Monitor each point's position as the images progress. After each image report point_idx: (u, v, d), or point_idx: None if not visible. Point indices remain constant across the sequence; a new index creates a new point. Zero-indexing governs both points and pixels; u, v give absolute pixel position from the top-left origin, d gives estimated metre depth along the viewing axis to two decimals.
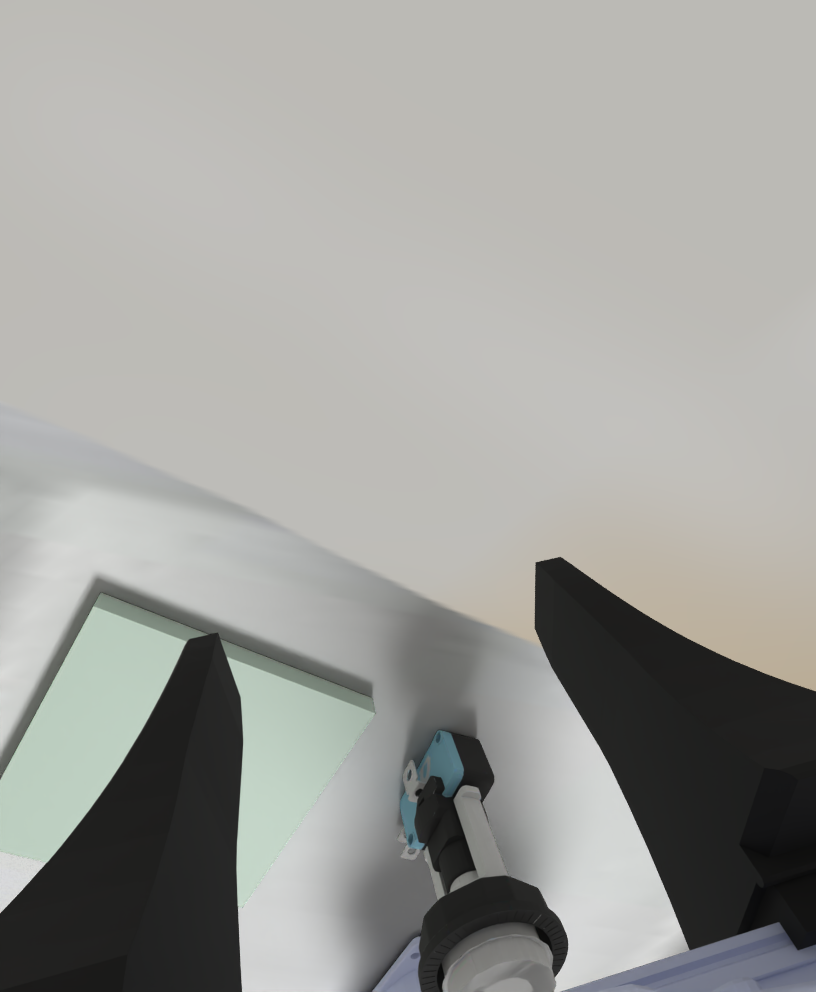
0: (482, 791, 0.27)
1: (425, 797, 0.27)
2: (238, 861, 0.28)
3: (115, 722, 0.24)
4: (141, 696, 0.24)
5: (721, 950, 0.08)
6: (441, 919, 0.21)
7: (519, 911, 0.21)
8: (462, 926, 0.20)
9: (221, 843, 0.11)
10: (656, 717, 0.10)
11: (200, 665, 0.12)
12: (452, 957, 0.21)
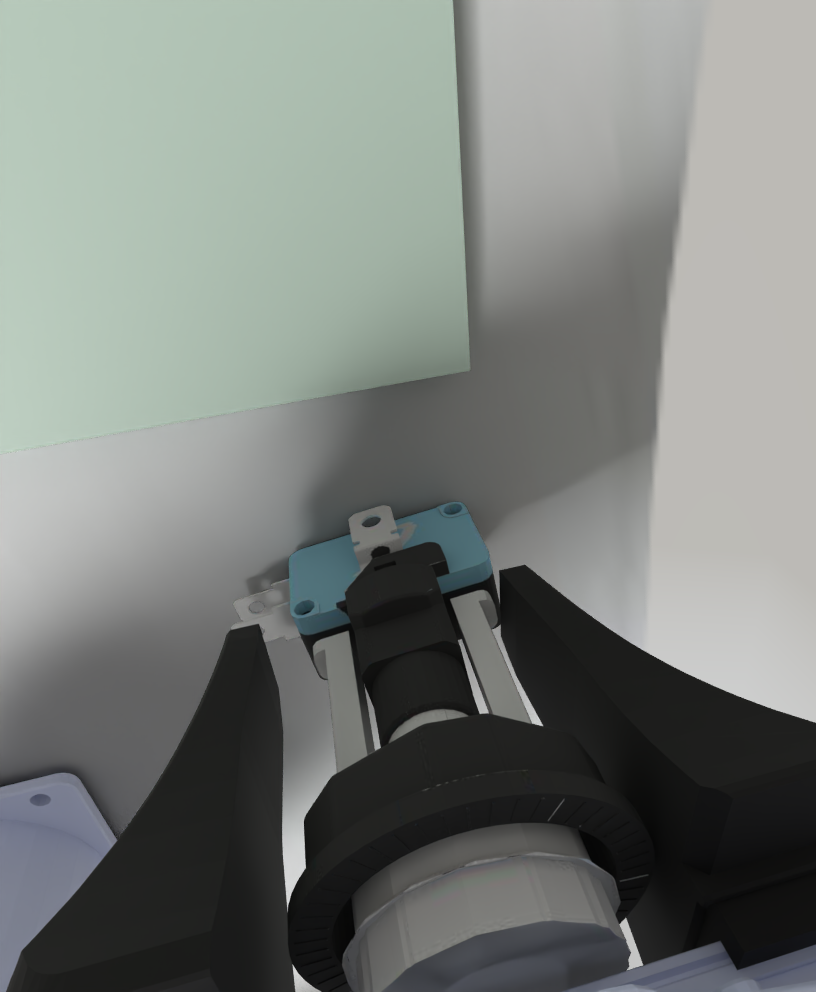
0: None
1: (401, 563, 0.14)
2: None
3: None
4: None
5: (721, 950, 0.08)
6: (489, 753, 0.08)
7: (647, 842, 0.09)
8: (569, 796, 0.08)
9: (270, 830, 0.11)
10: (607, 730, 0.10)
11: (246, 655, 0.12)
12: (462, 845, 0.08)
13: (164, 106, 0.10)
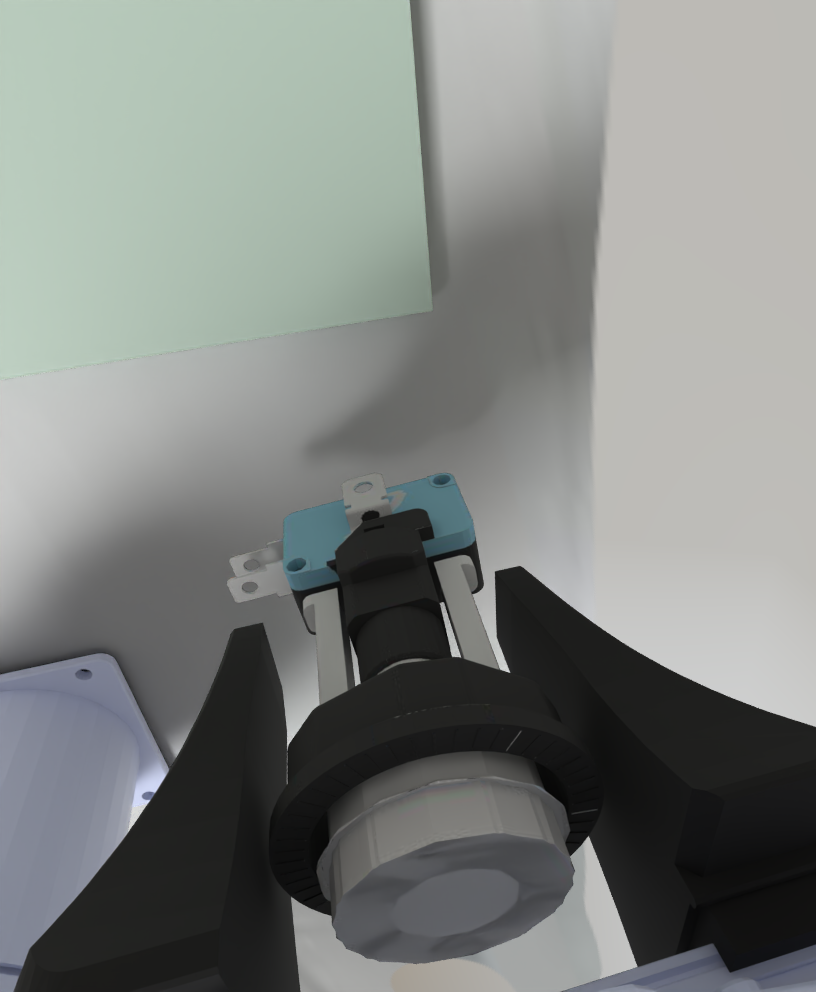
0: None
1: (389, 526, 0.15)
2: (48, 308, 0.15)
3: None
4: None
5: (721, 950, 0.08)
6: (456, 690, 0.09)
7: (596, 778, 0.10)
8: (526, 728, 0.09)
9: None
10: (601, 732, 0.10)
11: (249, 655, 0.12)
12: (428, 769, 0.09)
13: (197, 100, 0.14)
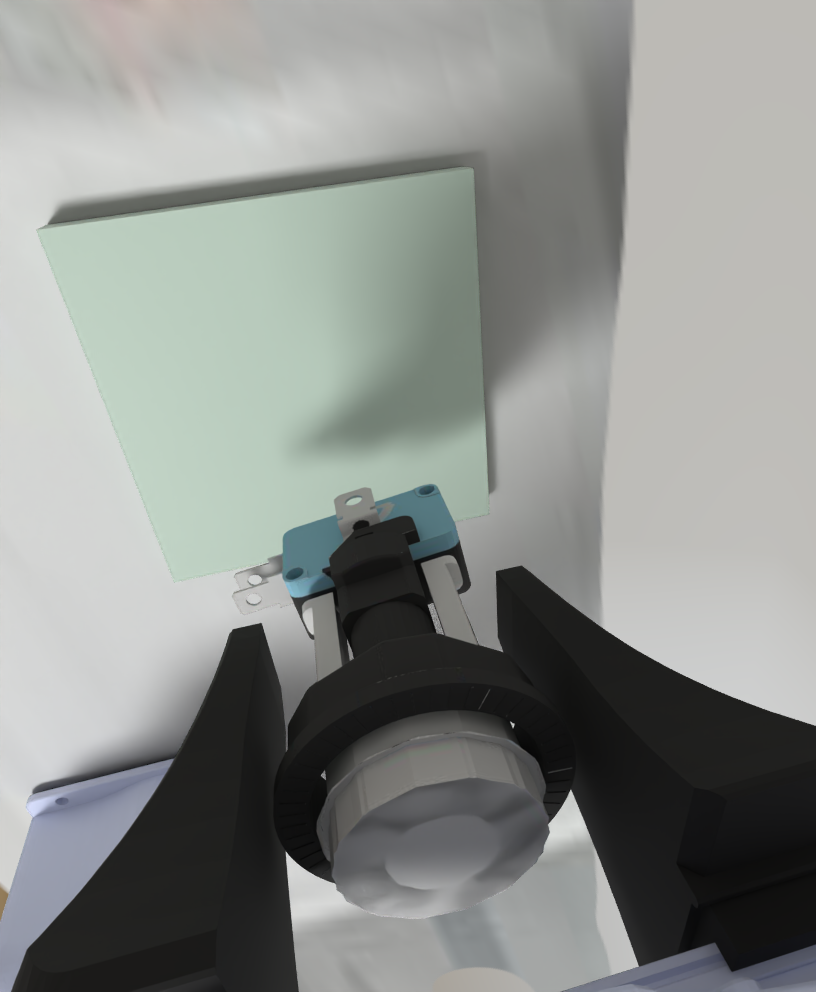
0: None
1: (378, 533, 0.16)
2: (234, 533, 0.22)
3: (337, 289, 0.19)
4: (387, 293, 0.19)
5: (721, 950, 0.08)
6: (433, 659, 0.10)
7: (566, 735, 0.11)
8: (494, 686, 0.10)
9: (273, 829, 0.11)
10: (602, 731, 0.10)
11: (248, 655, 0.12)
12: (410, 730, 0.10)
13: (343, 411, 0.21)
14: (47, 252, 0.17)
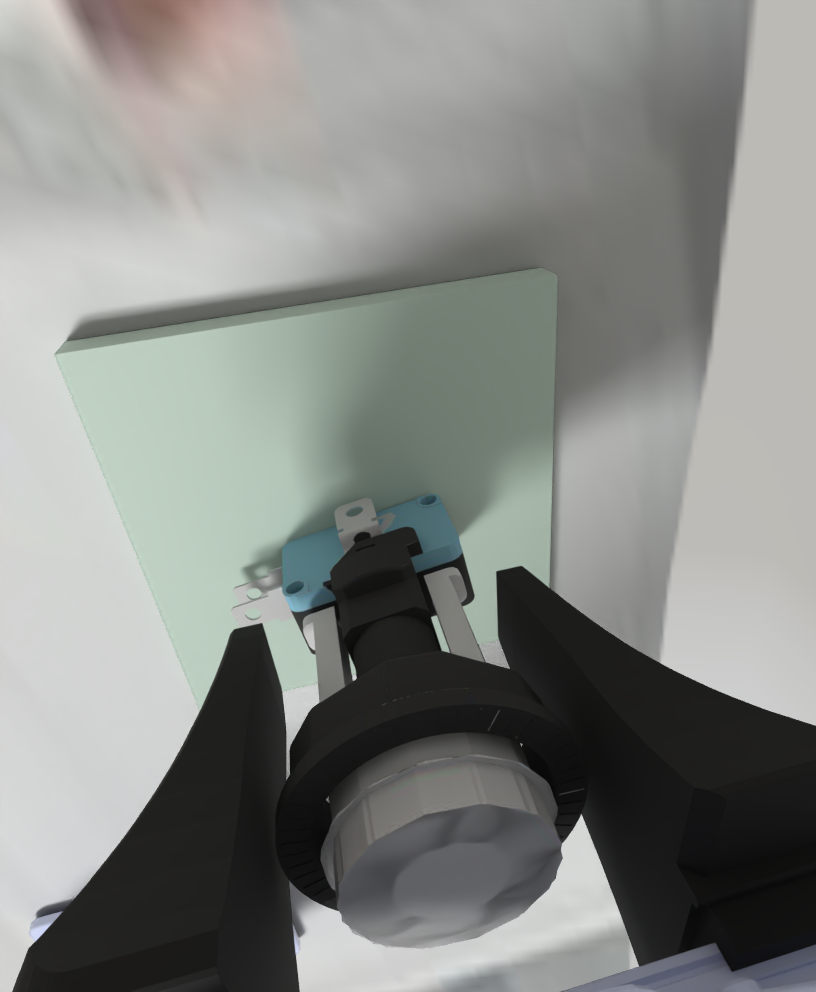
0: None
1: (380, 545, 0.16)
2: None
3: (397, 406, 0.16)
4: (452, 409, 0.17)
5: (721, 950, 0.08)
6: (439, 679, 0.10)
7: (577, 756, 0.10)
8: (504, 707, 0.09)
9: (274, 829, 0.11)
10: (602, 731, 0.10)
11: (249, 654, 0.12)
12: (417, 752, 0.10)
13: None
14: (66, 378, 0.14)
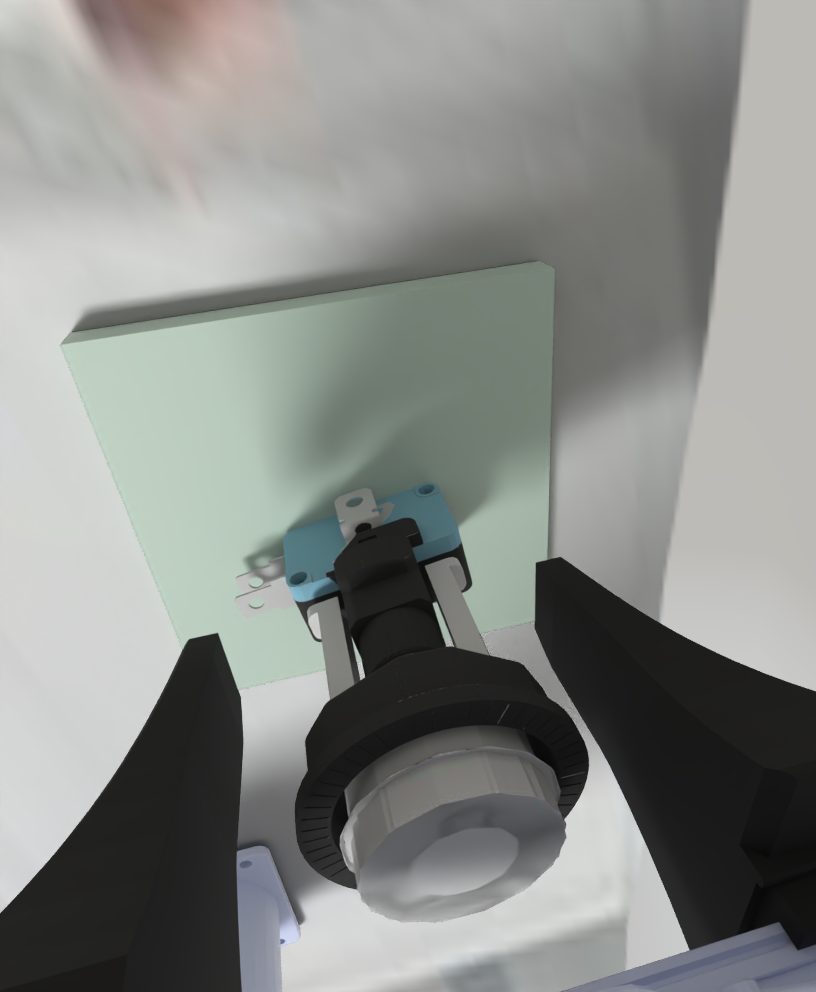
0: None
1: (381, 536, 0.16)
2: (269, 648, 0.20)
3: (396, 397, 0.17)
4: (450, 400, 0.17)
5: (721, 950, 0.08)
6: (450, 674, 0.11)
7: (579, 742, 0.11)
8: (513, 702, 0.10)
9: (221, 843, 0.11)
10: (656, 717, 0.10)
11: (201, 666, 0.12)
12: (431, 745, 0.10)
13: None
14: (72, 368, 0.15)
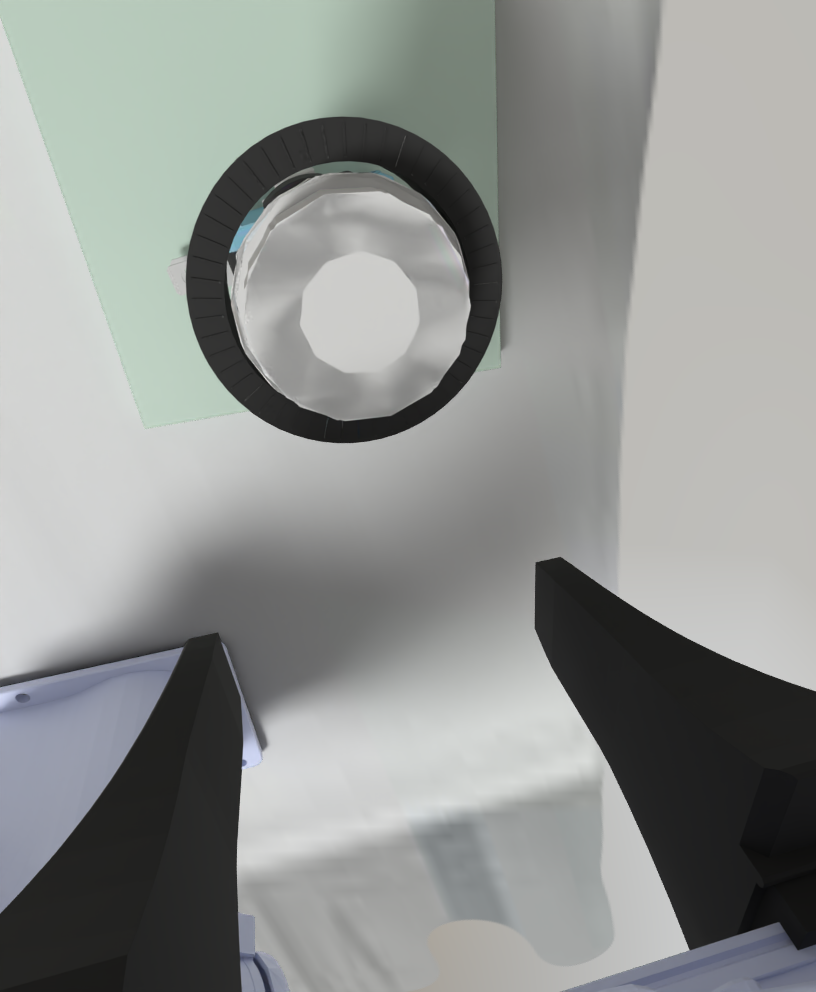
0: None
1: None
2: None
3: (332, 54, 0.16)
4: (390, 65, 0.17)
5: (721, 950, 0.08)
6: None
7: (489, 229, 0.10)
8: (409, 133, 0.10)
9: (221, 843, 0.11)
10: (656, 717, 0.10)
11: (200, 666, 0.12)
12: (325, 187, 0.10)
13: None
14: None
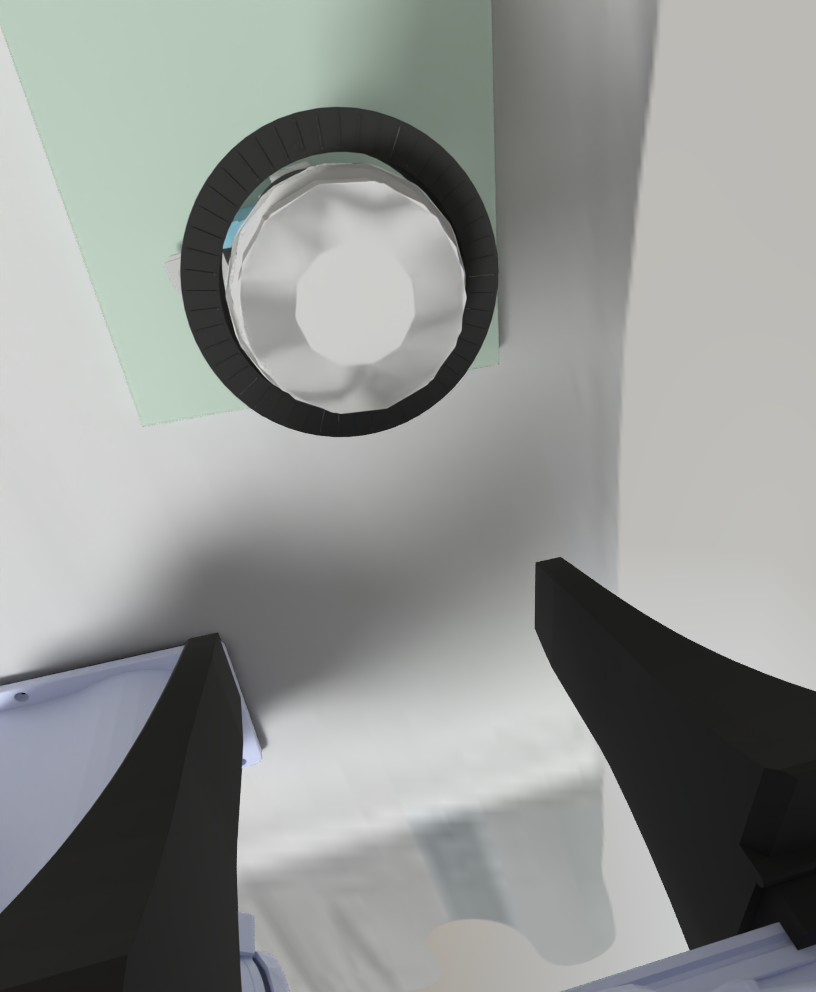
0: None
1: None
2: (210, 368, 0.20)
3: (329, 49, 0.16)
4: (386, 61, 0.17)
5: (721, 950, 0.08)
6: None
7: (484, 220, 0.10)
8: (404, 123, 0.09)
9: (221, 843, 0.11)
10: (656, 717, 0.10)
11: (201, 665, 0.12)
12: (320, 179, 0.10)
13: None
14: None
